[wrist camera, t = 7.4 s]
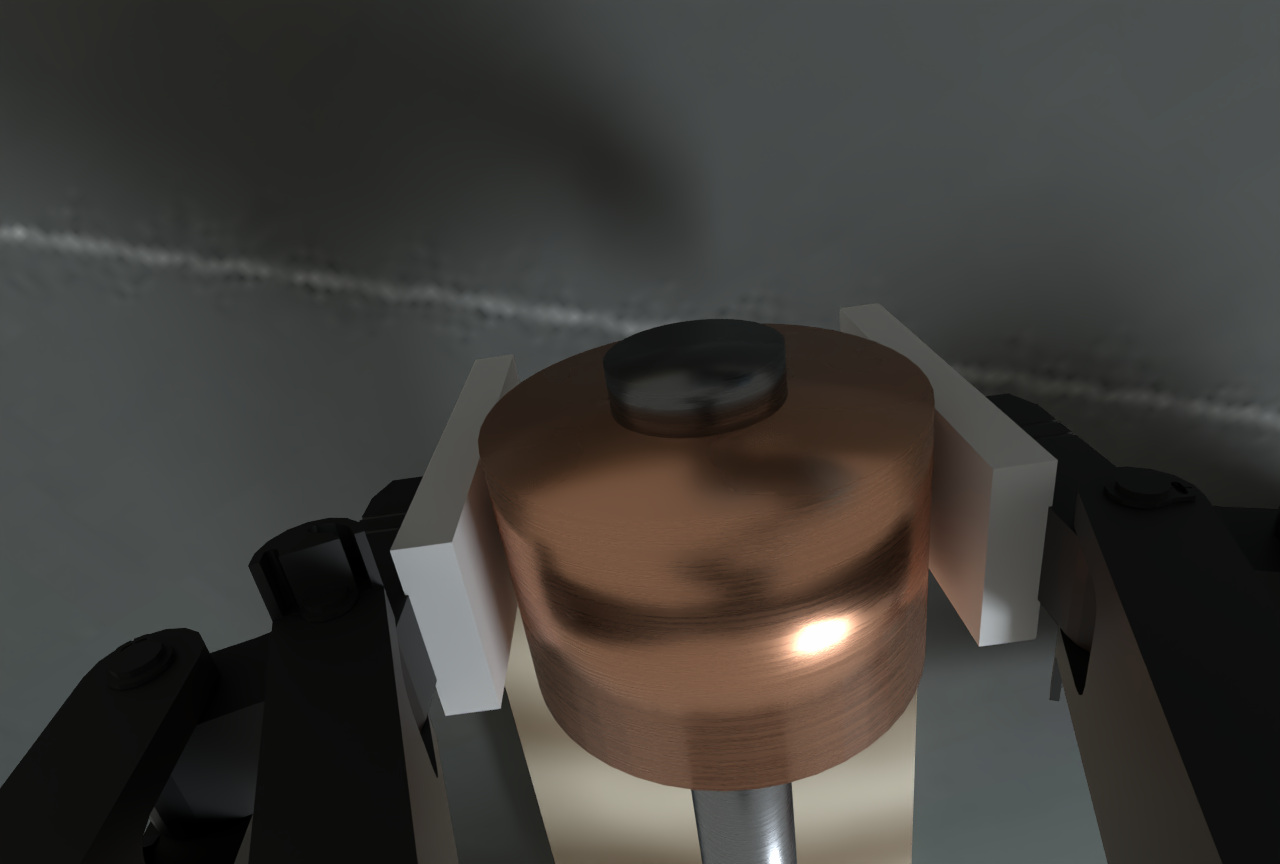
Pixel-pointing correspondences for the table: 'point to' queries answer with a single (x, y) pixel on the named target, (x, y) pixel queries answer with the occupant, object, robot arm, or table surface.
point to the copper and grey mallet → (721, 557)
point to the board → (664, 815)
